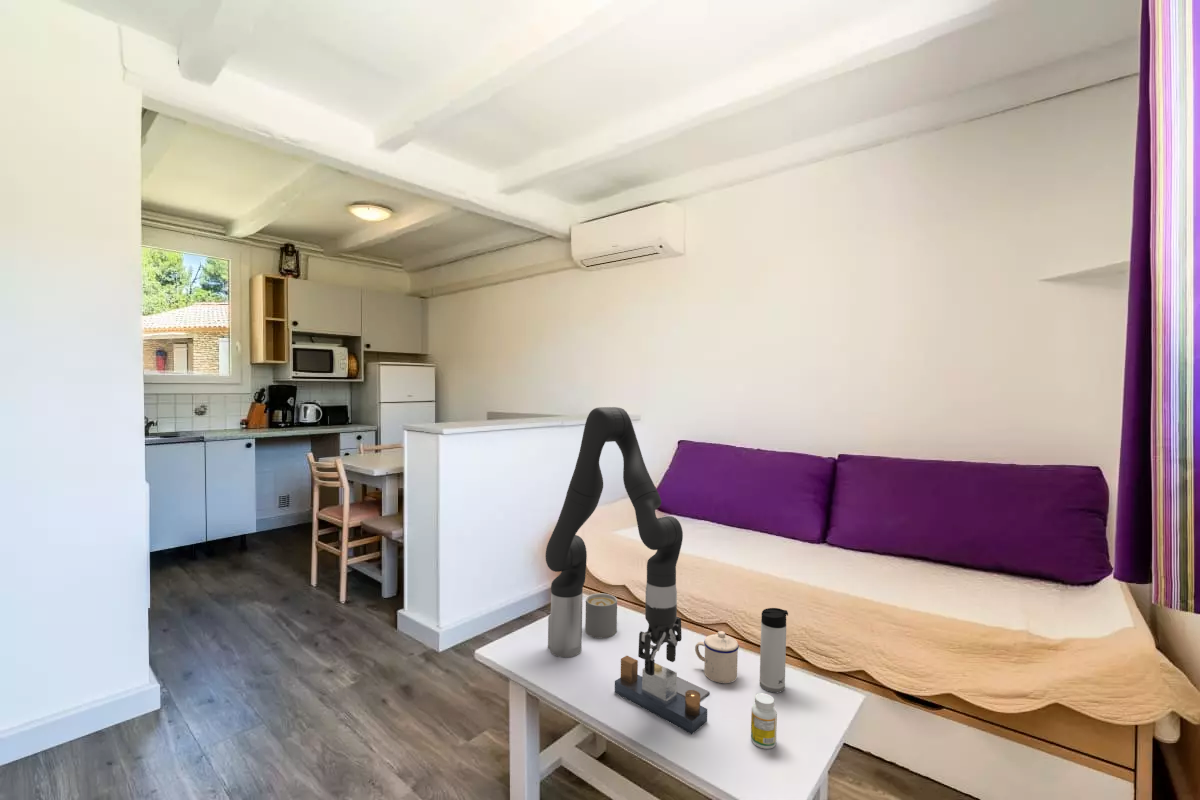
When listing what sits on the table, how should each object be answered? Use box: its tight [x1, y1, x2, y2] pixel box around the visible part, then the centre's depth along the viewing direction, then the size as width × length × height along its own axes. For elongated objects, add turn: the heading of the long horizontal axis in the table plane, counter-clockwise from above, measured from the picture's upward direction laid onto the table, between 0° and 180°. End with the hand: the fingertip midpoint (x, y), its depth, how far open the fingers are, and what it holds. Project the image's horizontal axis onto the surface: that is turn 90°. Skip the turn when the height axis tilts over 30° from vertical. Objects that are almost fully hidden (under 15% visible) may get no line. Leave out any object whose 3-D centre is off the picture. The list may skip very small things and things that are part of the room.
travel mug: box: [759, 607, 789, 693], centre depth 137 cm, size 6×7×20 cm
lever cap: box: [641, 662, 678, 701], centre depth 127 cm, size 7×4×6 cm, turn 47°
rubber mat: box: [676, 676, 710, 702], centre depth 135 cm, size 12×6×1 cm, turn 47°
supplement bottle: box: [750, 692, 778, 750], centre depth 116 cm, size 5×5×10 cm
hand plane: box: [614, 655, 708, 735], centre depth 128 cm, size 23×6×8 cm, turn 47°
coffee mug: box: [584, 592, 618, 639], centre depth 168 cm, size 13×10×10 cm
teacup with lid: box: [694, 630, 740, 684], centre depth 143 cm, size 12×9×12 cm
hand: (660, 667), depth 127 cm, fingers open, 8 cm apart
